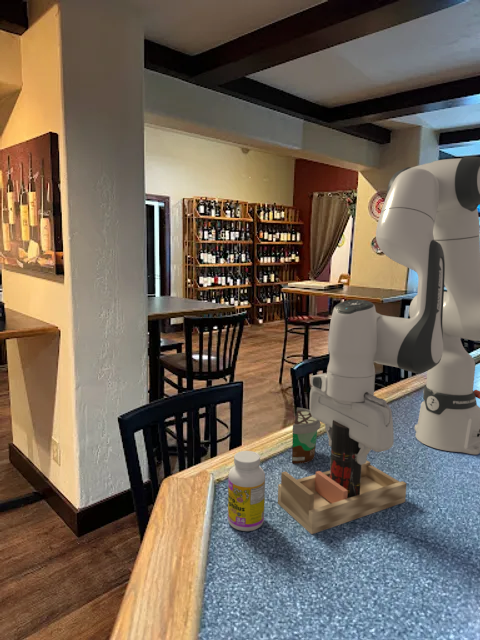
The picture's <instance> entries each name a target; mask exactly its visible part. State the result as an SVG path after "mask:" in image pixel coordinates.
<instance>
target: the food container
mask: <svg viewBox="0 0 480 640" xmlns="http://www.w3.org/2000/svg"><path fill="white" fill-rule="evenodd" d="M321 425H322V424H321V422H320V421H318V420H317V419H315V418H313V417H312V415H311V413H310V409H307V408H303V407H296V416H295V418H294V423H293V424H292V441H291V442H292V446H291V447H292V449H291V451H292V454H291V464H296V465H298V464H299V465H300V464H306V463H310V462H312V461H313V460H314V459H315V454H316V447H317V445H316V444H317V436H318V430H320V428H321Z"/></svg>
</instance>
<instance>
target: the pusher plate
mask: <svg viewBox="0 0 480 640" xmlns="http://www.w3.org/2000/svg"><path fill="white" fill-rule="evenodd" d="M315 474H316V476H315V491H316V492H318V493H319V494H320V495H322V496H323V497H324V498H325V499H327V500H328V501H329V502H331V503H335V502H338V501H341V500H344V499H347V495H348V490H346V489H345V488H344V487H342V486H341V485H339V484H338V483H336V482H335V481H334V480H332V479H331V478H329V477H328V476H326V475H325V474H324V473H323V472H322V471H320V470H317V471H315Z"/></svg>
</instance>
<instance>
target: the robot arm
mask: <svg viewBox="0 0 480 640" xmlns="http://www.w3.org/2000/svg"><path fill="white" fill-rule="evenodd" d="M386 193H387V194H386V197H385V199H384V202H383V205H382V208H381V211H380V215H379V218H378V221H377V224H376V229H375V240H376V243H377V246H378V248H379V249H380V251H381V252H382V253H383V254H384V255H385V256H386V257H388V258H389V259H390V260H392V261H394V262H395V263H396V264H398V265H402V266H404V267H405V268H408V269H410V270H412V271H414V272H415V273H416V274H417V278H418V280H417V294H416V295H415V296H414V297H412V298H413V299H411V301H410V305H409V308H408V310H409V311H408V312H409V318H406V317H397V316H392V315H391V316H389V315H384V314H381V313H378V312H377V311H376V310H377V309H376V306H375V304H374V303H373V302H371V301H369V300H365V299H352V300H344V301H341V302H339V303H337V304H336V305H335V306H334V307H333V310H332V314H331V318H330V323H329V328H328V329H329V332H328V341H327V343H328V344H327V345H328V348H327V349H328V353H329V362H328V364H327V372H324V373H319V374H315V375H311V376H310V378H309V379H310V382H309V383H310V385H311V388H310V392H309V410H310V413H311V415H312V417H313V418H315V419H317V420H318V421H320V423H322V424H324V429H325V432H326V435H327V437H328V447H330V448H331V443H332V423H333V420H334V421H336V422H338V423H340V424H342V425H344V426H346V427H348V428H349V437H350V438H351V439H353V440H355V441H357V442H359V448H361V449H360V451H359V453H358V452H357V453H354V457H355V458H354V461H355V462H357V463H358V464H360V465H361V464H365V463H366V461H368V460H367V458H368V454H369V453H371V451H374V452H376V453H381V452H385V451H387V450H390V449H391V448H392V447H393V446H394V442H395V441H394V440H395V439H394V438H395V437H394V422H393V421H394V420H393V415H392V408H391V407H390V406H389V404H388V403H387V401H386V400H385V399H384V398H379V397H377V396H376V395H374V394H375V381H376V368H375V365H374V364H379V365H383V366H389V367H393V368H394V367H395V368H397V369H398V368H399V369H401V370H404V371H407V372H411V373H414V374H417V375H420V374H424V373H425V372H426V383H425V385H424V388H423V396H422V398H423V401H422V402H421V403H420V409H419V414H418V420H417V423H416V424H415V425H414V431H415V436H414V437H415V438H416V439H417V441H419V442H420V443H422V444H424V445H426V446H428V447H430V448H434V449H437V450H441V451H447V452H453V453H454V452H456V453H465V454H469V455H475V456H476V455H479V454H480V406H479V405H478V403H477V399H479V400H480V390H478V389H474V383H475V374H476V362H475V360H474V358H473V356H472V355H471V354H470V353H468V351H467V350H466V349H465V348H464V346H463V343H462V340H461V339H464V340H470V341H473V342H474V341H476V342H478V341H479V342H480V215H479V211H478V207H479V206H480V156H463V157H461V158H459V157H458V158H447V159H439V160H438V159H437V160H434V161H432V162H426V163H423V164H420V165H419V164H418V165H416V166H412V167H410V166H408V167H405V168H402V169H400V170H398V171H396V172H395V173H394V174H393V175H392V176H391V178H390V180H389V181H388V185H387V191H386ZM445 289H446V291H445Z"/></svg>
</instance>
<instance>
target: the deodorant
mask: <svg viewBox="0 0 480 640" xmlns="http://www.w3.org/2000/svg"><path fill="white" fill-rule="evenodd" d="M330 448H331V449H330V463H329V464H330V465H329V471H330V478H331V479H332V480H334V481H335V482H336V483H338V484H339V485H341V486H342V487H344V488H345V489H346V490H348V495H347V498H350V497H354V496H357V495H360V483H361V467H362V464H361V465H360V464H358V463H357V462H355V461H354V458H355V457H354V453H357V452H358V453H359V451H360V449H361V448H359V442H357V441H355V440H353V439H351V438H350V437H349V428H348V427H346V426H344V425H342V424H340V423H338V422H336V421H334V420H333V423H332V443H331V447H330Z"/></svg>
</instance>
